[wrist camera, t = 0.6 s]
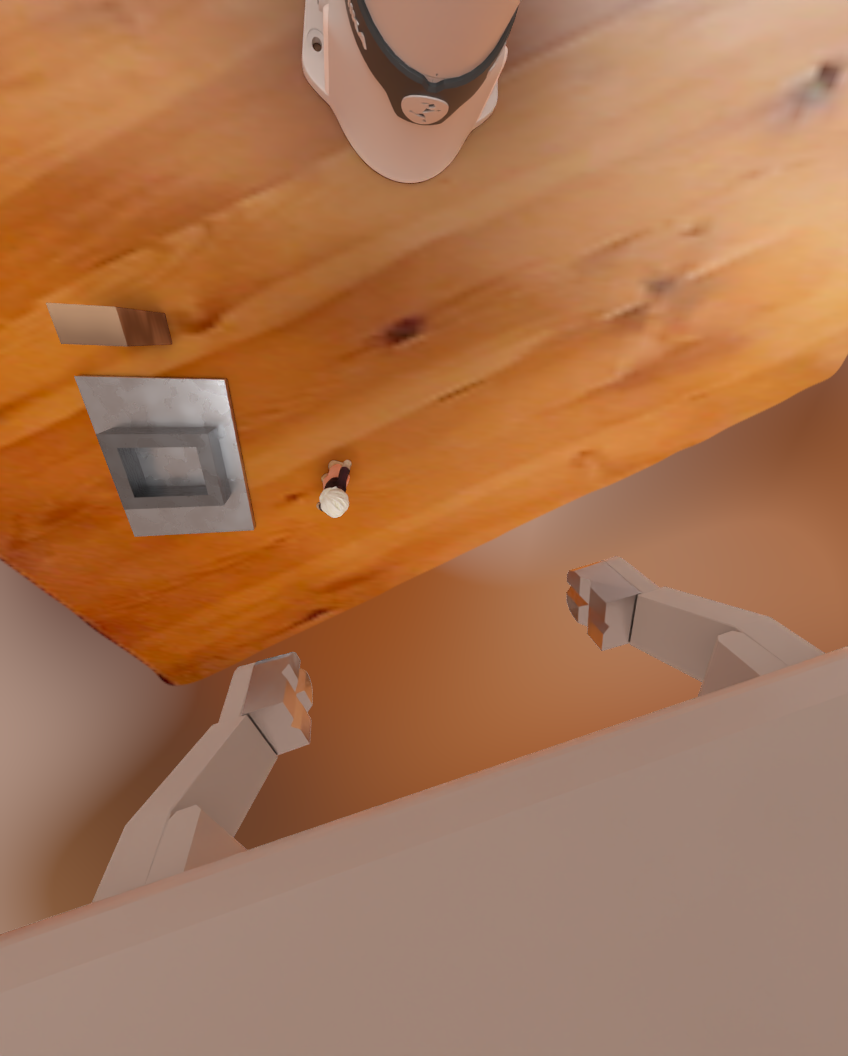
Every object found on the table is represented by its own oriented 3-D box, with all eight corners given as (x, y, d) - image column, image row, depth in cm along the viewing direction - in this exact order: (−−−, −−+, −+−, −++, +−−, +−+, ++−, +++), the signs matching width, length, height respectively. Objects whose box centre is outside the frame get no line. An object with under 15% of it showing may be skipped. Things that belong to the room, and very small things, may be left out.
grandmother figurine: (340, 499, 53) (341, 541, 42) (315, 491, 52) (308, 532, 41) (358, 451, 50) (363, 483, 40) (331, 441, 49) (329, 472, 38)
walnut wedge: (112, 310, 38) (45, 302, 30) (164, 313, 39) (115, 306, 31) (121, 342, 40) (61, 343, 31) (172, 344, 41) (127, 346, 32)
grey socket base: (81, 375, 40) (52, 379, 36) (227, 378, 43) (215, 383, 39) (138, 532, 49) (121, 549, 45) (255, 526, 52) (248, 542, 48)
